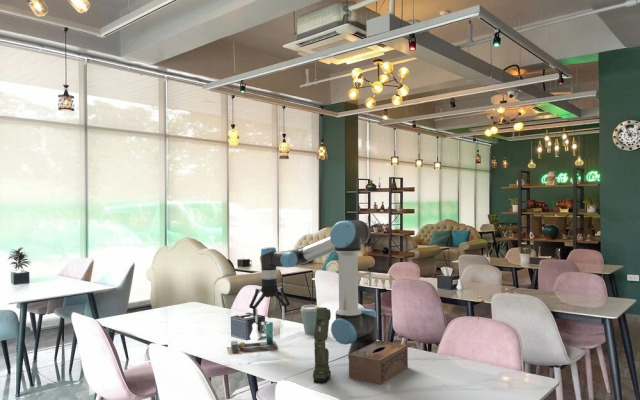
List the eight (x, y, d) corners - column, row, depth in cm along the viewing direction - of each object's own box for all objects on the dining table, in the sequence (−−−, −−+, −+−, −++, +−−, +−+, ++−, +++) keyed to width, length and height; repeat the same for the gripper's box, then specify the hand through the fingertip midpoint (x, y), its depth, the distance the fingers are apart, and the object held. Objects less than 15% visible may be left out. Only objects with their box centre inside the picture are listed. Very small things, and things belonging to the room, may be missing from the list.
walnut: (246, 350, 239) (246, 342, 239) (238, 350, 238) (238, 343, 238) (245, 348, 242) (245, 340, 242) (238, 348, 241) (238, 341, 241)
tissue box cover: (378, 362, 223) (378, 340, 223) (407, 368, 215) (407, 345, 215) (349, 378, 202) (348, 354, 202) (380, 385, 194) (379, 360, 194)
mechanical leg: (326, 385, 192) (328, 307, 199) (308, 383, 193) (311, 306, 201) (332, 381, 205) (334, 308, 212) (315, 380, 206) (318, 307, 214)
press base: (273, 345, 251) (273, 336, 251) (278, 352, 238) (278, 342, 238) (226, 349, 245) (226, 339, 245) (228, 357, 232) (228, 347, 232)
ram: (274, 343, 247) (274, 321, 247) (276, 345, 242) (276, 323, 243) (259, 344, 245) (258, 322, 245) (260, 347, 240) (260, 324, 240)
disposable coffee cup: (319, 335, 270) (319, 308, 271) (300, 335, 271) (299, 308, 271) (319, 330, 281) (319, 304, 281) (301, 330, 281) (300, 304, 282)
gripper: (291, 275, 251) (293, 317, 251) (243, 278, 245) (244, 321, 244) (295, 277, 244) (296, 320, 243) (244, 280, 237) (245, 324, 237)
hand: (270, 320), depth 244 cm, fingers open, 13 cm apart
